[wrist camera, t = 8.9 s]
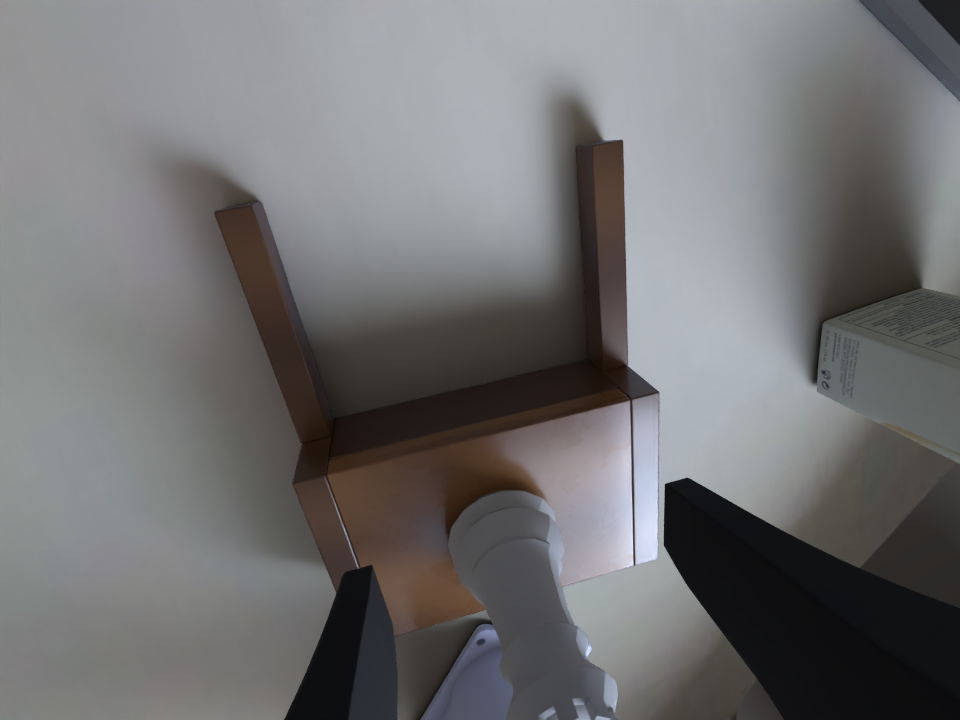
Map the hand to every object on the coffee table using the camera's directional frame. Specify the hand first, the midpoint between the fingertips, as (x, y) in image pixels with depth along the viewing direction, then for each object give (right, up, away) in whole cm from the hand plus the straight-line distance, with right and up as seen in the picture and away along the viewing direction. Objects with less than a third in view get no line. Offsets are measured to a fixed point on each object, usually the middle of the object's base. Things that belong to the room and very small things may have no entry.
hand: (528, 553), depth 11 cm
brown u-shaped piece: (-2, +3, +10) cm, 10 cm away
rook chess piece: (0, -2, +8) cm, 8 cm away
